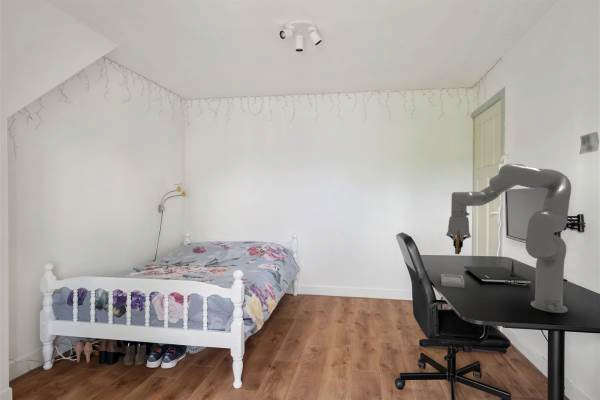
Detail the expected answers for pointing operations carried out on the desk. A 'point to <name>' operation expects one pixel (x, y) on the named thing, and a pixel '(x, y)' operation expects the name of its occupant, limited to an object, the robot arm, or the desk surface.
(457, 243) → the ammunition clip
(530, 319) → the desk surface
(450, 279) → the tray
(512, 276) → the eiffel tower figurine
